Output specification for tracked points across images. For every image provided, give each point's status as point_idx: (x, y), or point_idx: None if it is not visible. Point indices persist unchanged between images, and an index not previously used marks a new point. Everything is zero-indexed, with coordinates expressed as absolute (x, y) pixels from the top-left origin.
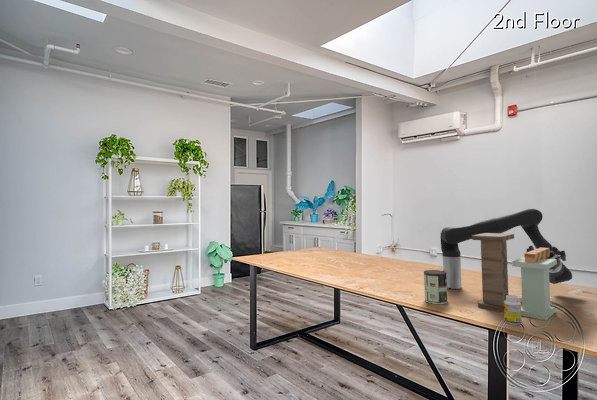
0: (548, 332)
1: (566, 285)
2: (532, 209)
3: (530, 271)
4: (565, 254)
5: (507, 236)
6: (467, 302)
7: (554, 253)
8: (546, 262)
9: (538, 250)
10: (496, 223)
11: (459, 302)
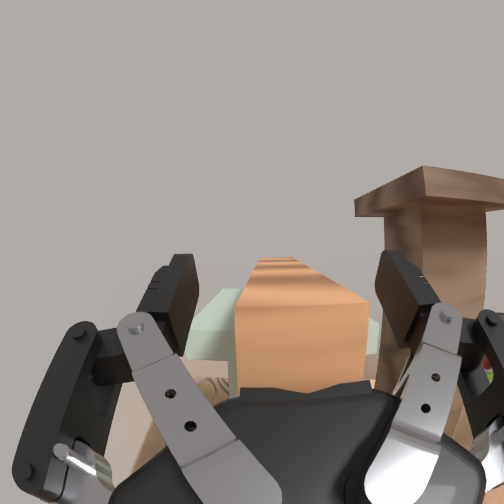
0: (226, 394)
1: None
2: None
3: None
4: (38, 409)
5: (375, 193)
6: (459, 431)
7: (183, 337)
8: (227, 296)
9: (279, 267)
10: None
11: (464, 418)
